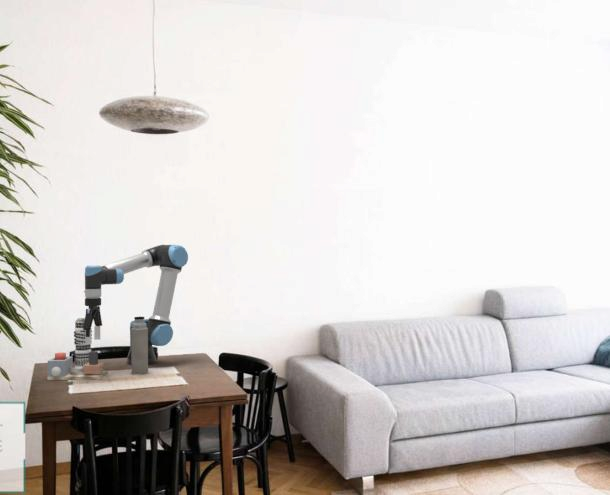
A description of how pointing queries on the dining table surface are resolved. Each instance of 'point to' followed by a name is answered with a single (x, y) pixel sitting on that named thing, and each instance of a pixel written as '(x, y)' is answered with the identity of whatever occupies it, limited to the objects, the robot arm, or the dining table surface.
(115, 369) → the dining table surface
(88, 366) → the carriage
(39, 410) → the dining table surface
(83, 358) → the decorative candle
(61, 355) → the button
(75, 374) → the rail base
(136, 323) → the thermos bottle
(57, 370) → the end cabinet
